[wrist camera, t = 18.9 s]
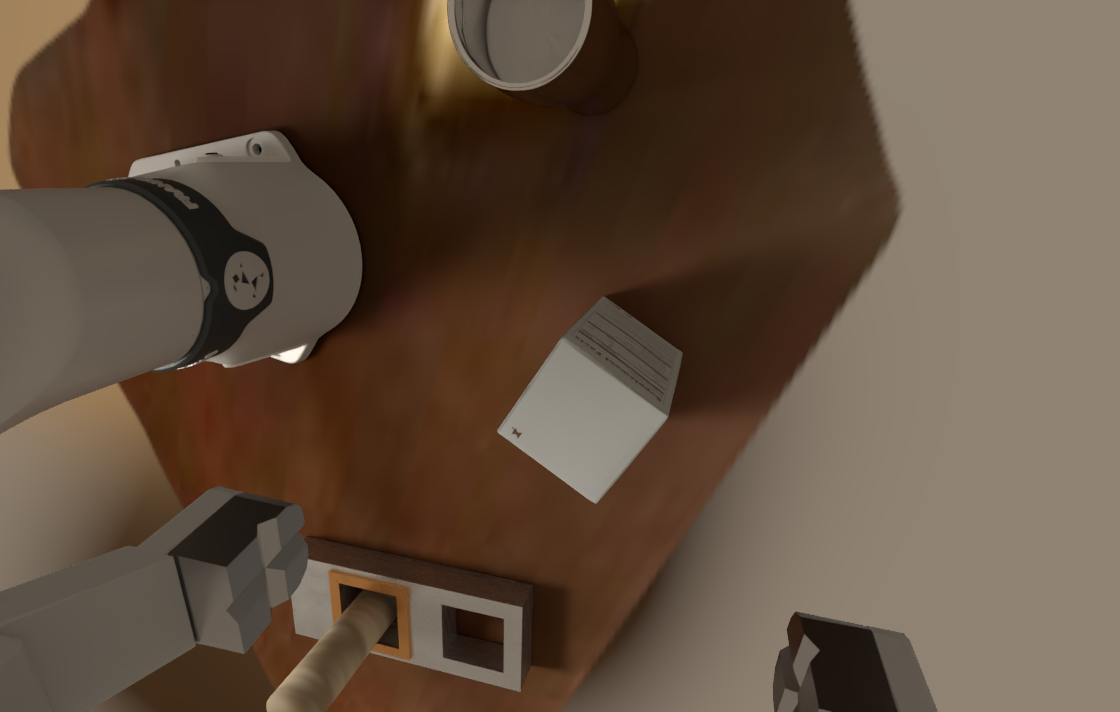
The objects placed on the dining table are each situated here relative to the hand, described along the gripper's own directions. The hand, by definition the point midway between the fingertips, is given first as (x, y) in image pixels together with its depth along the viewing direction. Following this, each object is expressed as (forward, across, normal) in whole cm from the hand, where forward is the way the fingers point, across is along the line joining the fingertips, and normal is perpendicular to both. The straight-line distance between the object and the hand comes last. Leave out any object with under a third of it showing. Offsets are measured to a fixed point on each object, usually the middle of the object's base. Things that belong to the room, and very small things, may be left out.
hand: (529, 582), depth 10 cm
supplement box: (+34, +1, +11) cm, 36 cm away
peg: (+32, +20, +38) cm, 54 cm away
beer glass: (+36, +6, -8) cm, 38 cm away
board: (+32, +17, +38) cm, 52 cm away
